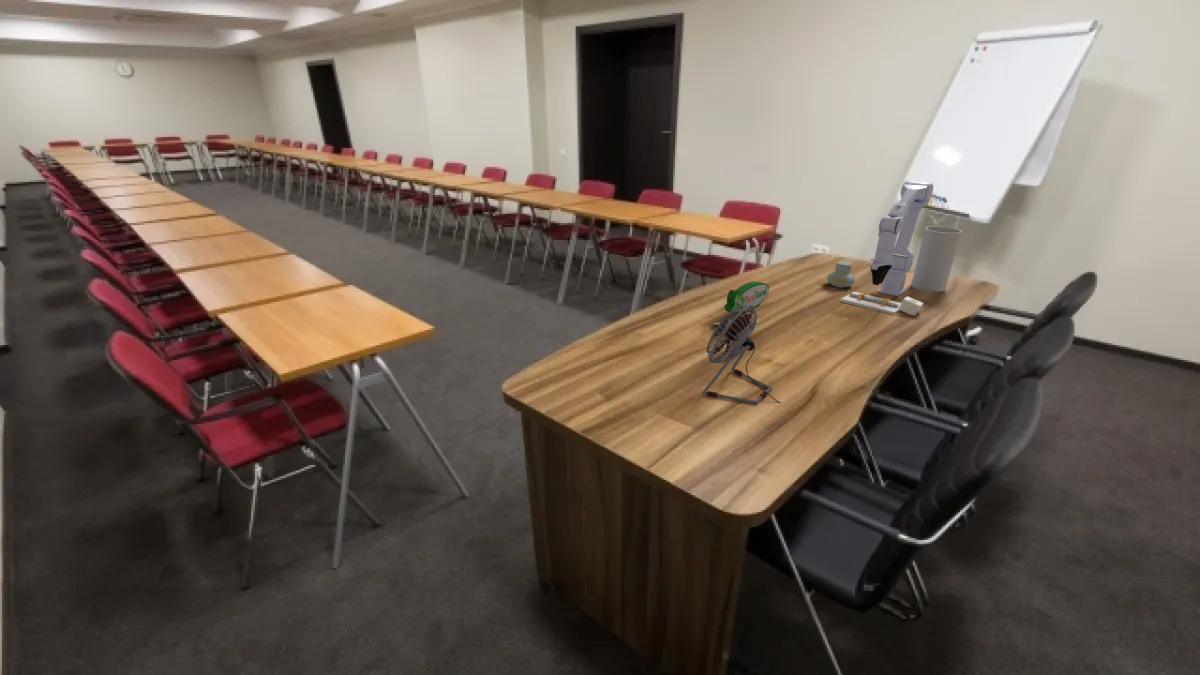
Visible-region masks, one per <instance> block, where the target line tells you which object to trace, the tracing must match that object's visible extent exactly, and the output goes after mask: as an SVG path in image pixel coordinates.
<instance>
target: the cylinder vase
mask: <svg viewBox="0 0 1200 675" xmlns="http://www.w3.org/2000/svg"><path fill="white" fill-rule="evenodd" d="M961 236H962V230H961V229H958V228H955V227H950V226H943V225H942V226H939V225H932V226H931V225H929V226H926V227H925V229H924V232H923V236H922V240H921V244H920V248H919V252H918V256H917V259H916V263H915V268H914V273H913V276H912V280H911V283H910V285H911V288H913V289H914V290H917V291H921V292H925V291H926V292H927V293H943V292H944V291H946V288H947V285H948V281H949V278H950V273H951V270H952V268H953V263H954V260H955V256H956V253H957V249H958V247H959V243H960V239H961Z"/></svg>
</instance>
